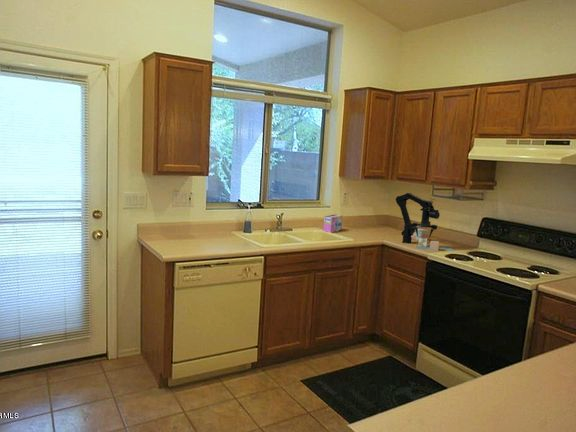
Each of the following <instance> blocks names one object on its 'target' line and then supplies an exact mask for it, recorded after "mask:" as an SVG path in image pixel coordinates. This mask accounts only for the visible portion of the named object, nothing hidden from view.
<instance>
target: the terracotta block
mask: <svg viewBox="0 0 576 432" xmlns="http://www.w3.org/2000/svg"><path fill="white" fill-rule="evenodd" d="M429 246H430V250H429V251H433V250H436V251H435V252H439V248H440V247H439V246H440V241H436V240H430V243H429ZM438 247H439V248H438Z"/></svg>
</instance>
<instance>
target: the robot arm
mask: <svg viewBox="0 0 576 432" xmlns="http://www.w3.org/2000/svg"><path fill="white" fill-rule="evenodd" d="M409 200H411V201H413V202H415V203H417V204H418V205H420V207H421V208H420V211H422V212H421V220H420V223H418V222H411V219H410V218H411V217H410V215H409V211H408V208H407V203H408V202H407V201H409ZM395 202H396V205H397V206H398V207H399V209H400V212H401V216H402V220H403V222H404V226H403V227H404V228H403V230H402V231H401V232H400V233H401V235H402V242H401V243H403V244H411V243H412V240H413V238H412V237H411V235H413V234H414V232H415V230H416V233H417V236H418V227H417V226H421V228H430V232H429V236H428V238H431V236H432V234H433V232H434V231H436V230H438V225H437V224H431V221H430V219H436V220H438V219H440V216H441V215H440V211H439V209H435V208H434V205H433V202H432V201H431V200H427V199H422V198H421V197H420V196H417V195H415V194H413V193H411V192H407V193H405V194H401V195H398V196H396V197H395Z"/></svg>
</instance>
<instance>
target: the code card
mask: <svg viewBox="0 0 576 432" xmlns="http://www.w3.org/2000/svg"><path fill="white" fill-rule="evenodd" d="M439 248H440V247H438V249H439ZM415 249H419V250H427V251H431V250H430V245H428V244H427V246H426V247H420V246H418V244H417V245H416V248H415ZM433 251H434V252H437V251H436V250H432V252H433Z"/></svg>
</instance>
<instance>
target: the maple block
mask: <svg viewBox="0 0 576 432" xmlns="http://www.w3.org/2000/svg"><path fill="white" fill-rule="evenodd" d="M417 245H418V246H420V247H426V246H427V245H428V238H427V239H426V238H419V240H418V244H417Z"/></svg>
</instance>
